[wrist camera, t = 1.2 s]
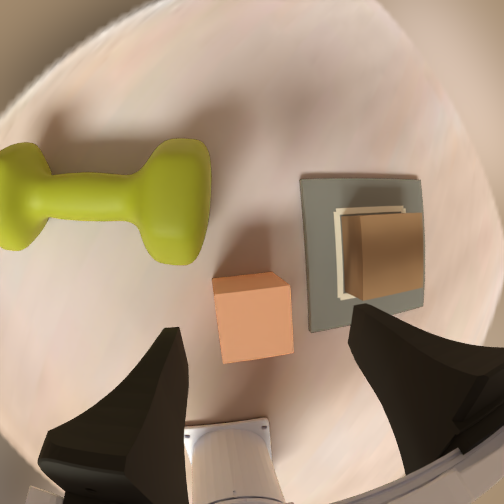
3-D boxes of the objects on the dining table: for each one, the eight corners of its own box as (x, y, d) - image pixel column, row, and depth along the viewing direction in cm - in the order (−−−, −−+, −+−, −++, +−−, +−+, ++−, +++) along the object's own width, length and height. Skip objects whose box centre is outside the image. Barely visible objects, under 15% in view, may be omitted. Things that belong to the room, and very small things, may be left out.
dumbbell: (215, 155, 21) (220, 122, 13) (204, 262, 21) (204, 281, 14) (30, 151, 18) (-19, 132, 11) (20, 244, 18) (-33, 253, 11)
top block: (275, 326, 22) (293, 353, 18) (218, 334, 22) (223, 363, 17) (271, 271, 22) (290, 285, 17) (211, 278, 21) (213, 294, 16)
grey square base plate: (419, 304, 25) (423, 306, 24) (308, 330, 23) (311, 333, 22) (416, 180, 23) (420, 179, 23) (299, 180, 22) (302, 179, 21)
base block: (401, 280, 23) (422, 287, 20) (344, 291, 22) (363, 300, 19) (400, 213, 23) (421, 212, 20) (341, 216, 22) (360, 215, 19)
